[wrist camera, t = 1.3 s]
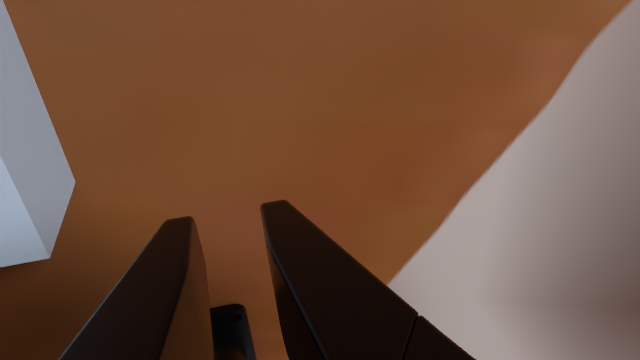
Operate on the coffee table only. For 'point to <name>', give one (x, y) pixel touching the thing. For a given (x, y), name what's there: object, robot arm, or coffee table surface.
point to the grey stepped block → (27, 160)
